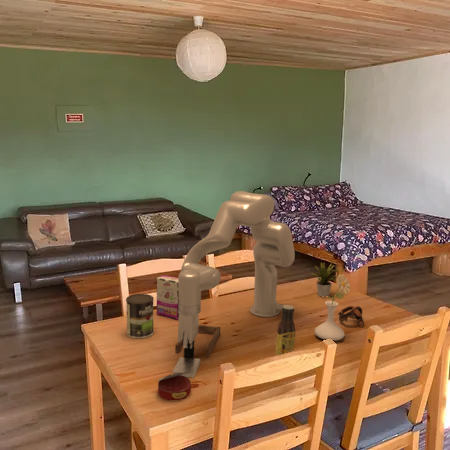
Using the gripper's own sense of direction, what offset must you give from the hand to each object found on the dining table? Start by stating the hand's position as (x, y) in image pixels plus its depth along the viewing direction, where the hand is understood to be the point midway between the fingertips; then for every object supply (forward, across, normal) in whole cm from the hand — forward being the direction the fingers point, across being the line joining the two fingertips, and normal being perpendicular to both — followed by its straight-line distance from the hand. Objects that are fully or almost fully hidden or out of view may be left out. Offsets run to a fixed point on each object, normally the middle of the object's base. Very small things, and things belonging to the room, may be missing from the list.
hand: (189, 357), depth 164 cm
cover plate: (+2, +6, +1) cm, 7 cm away
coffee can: (+1, -16, -24) cm, 29 cm away
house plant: (+1, -75, +45) cm, 87 cm away
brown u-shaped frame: (+1, -13, 0) cm, 13 cm away
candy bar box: (+1, -35, -18) cm, 39 cm away
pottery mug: (+1, -46, +57) cm, 73 cm away
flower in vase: (+1, -31, +48) cm, 57 cm away
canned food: (+1, +20, +1) cm, 20 cm away
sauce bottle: (+1, -7, +32) cm, 33 cm away
